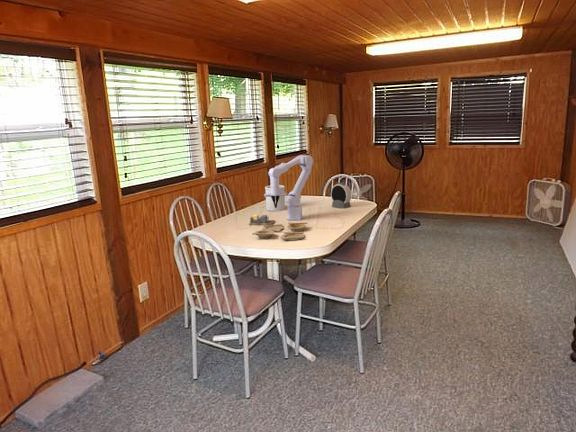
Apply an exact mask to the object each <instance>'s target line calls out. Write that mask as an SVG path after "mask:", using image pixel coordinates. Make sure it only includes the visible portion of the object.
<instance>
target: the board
mask: <svg viewBox="0 0 576 432" xmlns="http://www.w3.org/2000/svg"><path fill="white" fill-rule="evenodd" d="M275 223H276V220H275V219H273V220H272V219H271V220H270V219H269V222H266V223H250V222H249V223H248V225H249V226H263V225H274V224H275Z"/></svg>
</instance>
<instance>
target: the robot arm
mask: <svg viewBox="0 0 576 432" xmlns="http://www.w3.org/2000/svg"><path fill="white" fill-rule="evenodd" d="M313 163H314V160H313V157H312V156H311V155H309V154H308V155H304V154H299V155H298V156H296V157H294V158H293V159H291V160H290V161H288V162H281V163H280V164H278V165H276V166H274V167H272V168H270V169H269V171H268V172H267V173H268V176H269V179H270V181H269V182H270V185H271V193H267V194H266V193H263V197H264V198H266V197H271V198H272V200H273V203H274V206H275V208H277V203H278V200H279V198H280V197H279V196H285V204H286V206H287V218H286V220H287V221H291V220H292V221H300V220H302V218H303V208H302V207H303V206H302V205H300V203H301V198H302V195H301V193H302V191H303V189H304V187H305V185H306V182H307V180H308V178H309V177H310V174H311V172H312V167H313ZM296 165H299V166H300V168H301V169H302V171H301V172H300V175H299V177H298V179H297V180H296V183H295V185H294V187H293V189H292V190H291V191H290V192H289V193H288V195H287V192H285V193H280V189H279V185H280V177H281V175H282V174H284V173H286V172H288V171H289V169H290V168H291V167H294V166H296ZM270 185H269V186H270ZM272 195H276V204H275V196H272Z"/></svg>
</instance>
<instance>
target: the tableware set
mask: <svg viewBox="0 0 576 432" xmlns="http://www.w3.org/2000/svg"><path fill="white" fill-rule="evenodd" d="M307 225H308V222H306V221H304V222H287V226H286V227H287V228H288V229H290V230H291V231H283V234H282V235H280V239H281V240H284V241H298V240H302V239H304V238H305V235H304V232H302V231H303V230H304V229H305V228H306V227H307ZM262 226H263V227H261V229H260V230H256V231H254V232H251V235H253V236H254V235H255V236H257V237H258V238H259V239H263V240H264V239H269V238H271V236H272V235H274V234H275V232H281V231H282V230H284V226H283V224H282V223H277V224H272V225H262Z"/></svg>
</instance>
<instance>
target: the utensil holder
mask: <svg viewBox="0 0 576 432" xmlns="http://www.w3.org/2000/svg"><path fill="white" fill-rule="evenodd" d="M285 188H286V187H285V185H282V184H279V189H280V193H286V192H285ZM264 189H265V194H267V193H271V185H266V186H264ZM272 196H275V204H276V195H272ZM279 197H280V198H279V200H278V203H277V208H275V206H274V203H273V200H272V198H271V197H265V206H266V207H265V208H266V210H267V211H269V212H280V211H284V210H285V207H286V206H285V205H286V202H285V198H286V196H279Z"/></svg>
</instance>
